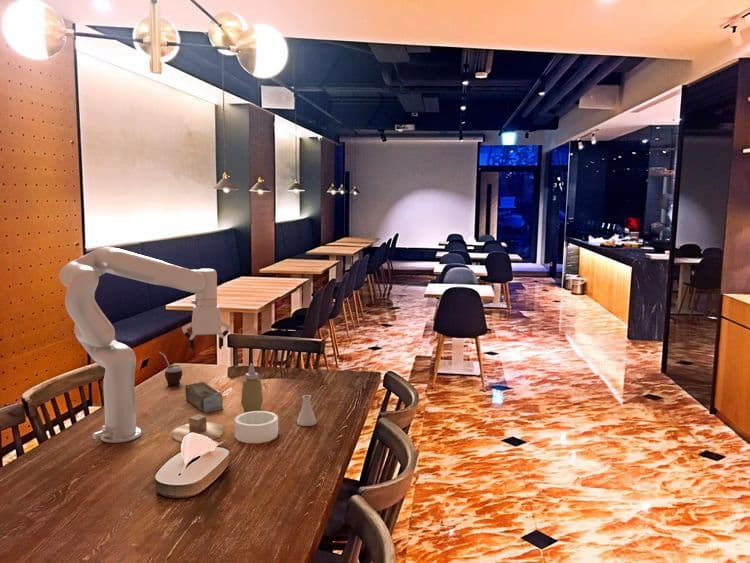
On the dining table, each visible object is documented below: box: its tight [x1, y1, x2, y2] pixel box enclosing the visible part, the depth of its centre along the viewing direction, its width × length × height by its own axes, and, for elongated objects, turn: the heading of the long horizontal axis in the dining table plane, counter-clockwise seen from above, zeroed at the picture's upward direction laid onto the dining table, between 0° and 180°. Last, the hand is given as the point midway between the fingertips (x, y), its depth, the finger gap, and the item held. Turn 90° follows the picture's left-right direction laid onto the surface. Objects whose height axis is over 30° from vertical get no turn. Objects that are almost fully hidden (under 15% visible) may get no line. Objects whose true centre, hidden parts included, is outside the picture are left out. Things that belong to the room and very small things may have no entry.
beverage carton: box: [184, 381, 224, 413], centre depth 240 cm, size 8×19×7 cm, turn 37°
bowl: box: [234, 410, 279, 444], centre depth 210 cm, size 14×14×6 cm
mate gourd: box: [158, 351, 183, 388], centre depth 262 cm, size 8×8×15 cm
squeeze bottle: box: [240, 363, 264, 413], centre depth 233 cm, size 8×8×18 cm
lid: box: [171, 413, 225, 443], centre depth 211 cm, size 17×17×6 cm
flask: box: [296, 394, 317, 427], centre depth 221 cm, size 7×7×10 cm
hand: (206, 349), depth 227 cm, fingers open, 9 cm apart
